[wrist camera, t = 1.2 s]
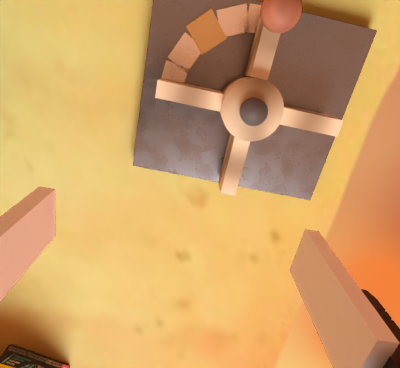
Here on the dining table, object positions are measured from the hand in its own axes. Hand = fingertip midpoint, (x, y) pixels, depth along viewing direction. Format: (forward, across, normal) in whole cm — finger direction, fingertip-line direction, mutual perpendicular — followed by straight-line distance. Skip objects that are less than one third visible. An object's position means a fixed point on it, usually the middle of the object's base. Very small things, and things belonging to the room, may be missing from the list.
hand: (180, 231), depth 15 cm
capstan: (+19, +5, +5) cm, 20 cm away
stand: (+20, +5, +5) cm, 22 cm away
